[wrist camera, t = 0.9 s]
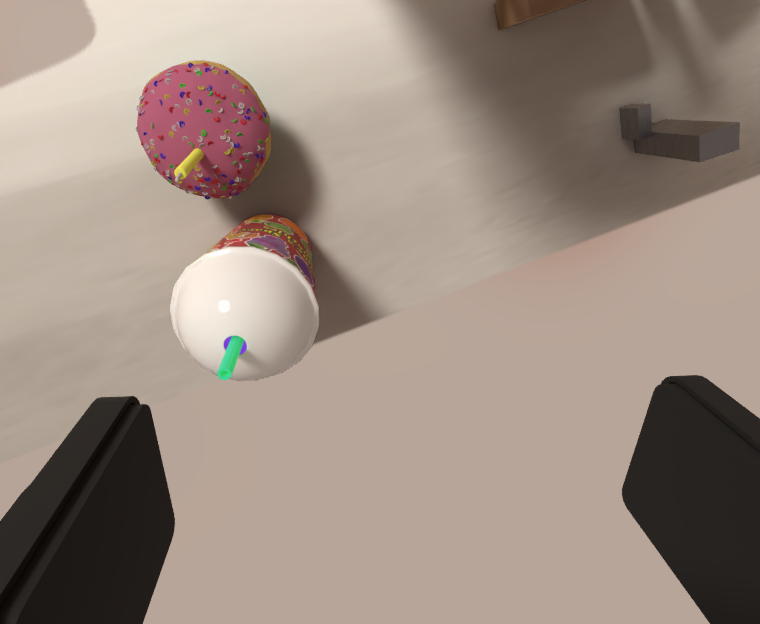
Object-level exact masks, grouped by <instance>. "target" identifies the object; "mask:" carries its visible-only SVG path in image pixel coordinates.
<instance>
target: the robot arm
mask: <svg viewBox="0 0 760 624" xmlns="http://www.w3.org/2000/svg"><path fill="white" fill-rule="evenodd" d="M622 496H623V501H624V503H625V505H626V507H627V509H628V510H629V512H630V513H631V514H632V516H633V517H634V519H635V520H636V521H637V523H638V524H639V525H640V527H641V528H642V530H643V531H644V532H645V534H646V535H647V537H648V538H649V539H650V541H651V542H652V544H653V545H654V546H655V548H656V549H657V550H658V552H659V553H660V555H661V556H662V557H663V559H664V560H665V562H666V563H667V564H668V566H669V567H670V569H671V570H672V571H673V573H674V574H675V575H676V577H677V578H678V580H679V581H680V582H681V584H682V585H683V587H684V588H685V589H686V591H687V592H688V593H689V595H690V596H691V598H692V599H693V600H694V602H695V603H696V605H697V606H698V607H699V609H700V610H701V612H702V613H703V614H704V616H705V617H706V619H707V620H708V621H709V623H710V624H760V419H759V418H758V417H757V416H755V415H754V414H753V413H751V412H750V411H749V410H748V409H746V408H745V407H743V406H742V405H741V404H739V403H738V402H737V401H736V400H734V399H733V398H732V397H730V396H729V395H728V394H726V393H725V392H724V391H722V390H721V389H720V388H718V387H717V386H715V385H714V384H713V383H712V382H710V381H709V380H708V379H706V378H704V377H702V376H697V375H691V376H670V377H667V378H665V379H664V380H663V381H662V383H661V385H658V386H657V387H656V388H655V390H654V392H653V395H652V398H651V401H650V404H649V407H648V410H647V414H646V417H645V420H644V423H643V426H642V429H641V432H640V435H639V438H638V441H637V445H636V447H635V451H634V453H633V457H632V460H631V463H630V466H629V469H628V472H627V475H626V478H625V482H624V484H623V488H622ZM174 525H175V518H174V512H173V508H172V503H171V499H170V494H169V490H168V486H167V481H166V477H165V472H164V467H163V463H162V459H161V454H160V450H159V445H158V441H157V436H156V432H155V427H154V423H153V418H152V414H151V410H150V408H149V406H148V405H146V404H141V405H140V403H139V400H138V399H137V398H136V397H134V396H127V397H101V398H97V399H96V400H95V401H94V402H93V403H92V404H91V405H90V407H89V408H88V409H87V411H86V412H85V413H84V415H83V416H82V417H81V418H80V420H79V421H78V422H77V424H76V425H75V426H74V428H73V429H72V430H71V432H70V433H69V434H68V436H67V437H66V438H65V440H64V441H63V442H62V444H61V445H60V446H59V448H58V449H57V450H56V451H55V453H54V454H53V455H52V457H51V458H50V459H49V461H48V462H47V463H46V465H45V466H44V467H43V469H42V470H41V471H40V473H39V474H38V475H37V476H36V478H35V479H34V481H33V482H32V483H31V484H30V485H29V486H28V487H27V488H26V489H25V490H24V491H23V492H22V493H21V495H20V496H19V497H18V499H17V500H16V501H15V503H14V504H13V505H12V507H11V508H10V509H9V511H8V512H7V513H6V514H5V516H4V517H3V518H2V520H1V521H0V624H143V621H144V618H145V615H146V612H147V609H148V606H149V604H150V601H151V598H152V595H153V592H154V589H155V587H156V584H157V581H158V578H159V575H160V572H161V569H162V566H163V564H164V561H165V558H166V555H167V552H168V549H169V546H170V544H171V541H172V537H173V533H174Z"/></svg>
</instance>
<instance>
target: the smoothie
mask: <svg viewBox="0 0 760 624" xmlns="http://www.w3.org/2000/svg"><path fill="white" fill-rule="evenodd" d="M170 312H171V319H172V326H173V329H174V331H175V333H176V335H177V337H178V339H179V340H180V342H181V344H182V346H183V348H184V349H185V350H186V351H187V352H188V354H189V355H190V356H191V357H192V358H193V359H194V360H195V361H196V362H197V363H198V364H199V365H200V366H201V367H202V368H204V369H206V370H208V371H210V372H212V373H213V374H215V375H217V376H218V377H219V378H220V379H222V380H228V379H232V380H236V381H251V380H259V379H262V378H266V377H269V376H273V375H276V374H280V373H283V372H284V371H286V370H287V369H289V368H290V367H292V366H293V365H295V364H297V363H298V362H300V361H301V359H302V358H303V357H304V355H305V354H306V353H307V352H308V351H309V349H310V348H311V347H312V346H313V343H314V340H315V337H316V334H317V331H318V328H319V305H318V303H317V300H316V290H315V280H314V271H313V261H312V252H311V246H310V244H309V241H308V239H307V236H306V235H305V234H304V232H303V231H302V230H301V229H300V228H299V226H298V225H296V224H295V223H293V222H292V221H290V220H289V219H287V218H285V217H281V216H278V215H274V214H259V215H256V216H253V217H250V218H247V219H246V220H244V221H243V222H242V223H240V224H239V225H238V226H237V227H236V228H234V229H233V230H232V231H231V232H230V233H229V234H227V235H226V236H225V237H224V238H223V239H222V240H220V241H219V242H218V243H217V244H216V245H215V246H213V247H212V248H211V249H210V250H209V251H208V252H206V253H205V254H204V255H203V256H201V257H200V258H199V259H197V260H196V261H195V262H193V263H192V264H191V265H189V266H188V267H186V269H185V270H184V272H183V273H182V275H181V276H180V278H179V279H178V281H177V282H176V284H175V285H174V289H173V293H172V298H171V303H170Z"/></svg>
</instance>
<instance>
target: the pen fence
mask: <svg viewBox="0 0 760 624" xmlns="http://www.w3.org/2000/svg"><path fill="white" fill-rule="evenodd" d="M583 1H585V0H498V1H497V2H495V3H494V5H495V11H496V16H497V22H498V28H499V30H502V29H505V28H508V27H511V26H514V25H517V24H520V23H522V22H525V21H528V20H531V19H534V18H537V17H540V16H542V15H545V14H548V13H551V12H554V11H557V10H560V9H562V8H565V7H568V6H571V5H574V4H577V3H580V2H583Z"/></svg>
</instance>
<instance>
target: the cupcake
mask: <svg viewBox="0 0 760 624" xmlns="http://www.w3.org/2000/svg"><path fill="white" fill-rule="evenodd" d="M139 100H140V105H138V106H137V110H138V121H137V127H136V128H135V129H136V131H137V132H138V135H139V138H140V141H141V145H143V147H144V149H145V151H146V153H147V155H148V157H149V159H150V161H151V163H152V165H153V166H154V169H155V171H156V170H157V171H158V172H159V173H160V175H162V176H163V177H164V178H165V179H166V180H167V181H168V182H169V183H171V184H172V185H175V186H176V187H178V188H180V189H182V190H184V191H185V192H186V193H190V194H195V195H199V196H204V197H205V198H206V199H210V198H229V199H230V198H232V197H233V196H236V195H238V194H240V193H242V192H244V191H245V190H247V189H248V187H249V185H250V183H251V182H252V181H253V180H254V179H255V178H256V177H257V176H258V175H259V174H260V172H261V171H262V169H263V167H264V165H265V164H266V162H267V160H268V158H269V156H270V152H271V133H270V121H269V115H268V113H267V111H266V109H265V107H264V105H263V104H262V102H261V100H260V98H259V97H258V95H257V93H256V91H255V90H254V88H253V87H252V86H251V85H250V83H249V82H247V81H246V80H245V79H244V78H242V77H241V76H239V75H238V74H237V73H235V72H234V71H232V70H231V69H229V68H228V67H226V66H224V65H221V64H218V63H214V62H209V61H189V62H185V63H182V64H179V65H176V66H173V67H171V68H168V69H167V70H164V71H162V72H160V73H159V74H157V75H156V76H154V77H153V78H152V79H151V80H150V81H149V82H148V83H147V84H146V86H145V87H144V90H143V93H142V96H141V97H140V99H139ZM138 108H139V109H138ZM207 197H208V198H207Z"/></svg>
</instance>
